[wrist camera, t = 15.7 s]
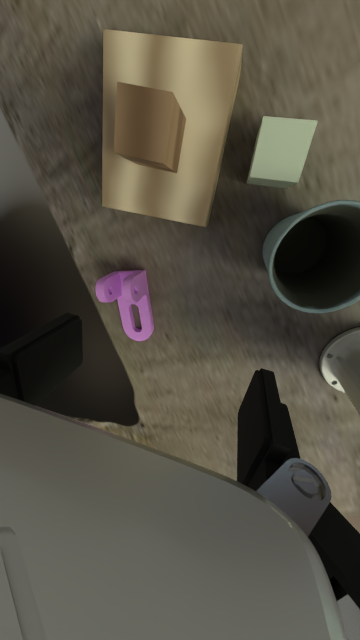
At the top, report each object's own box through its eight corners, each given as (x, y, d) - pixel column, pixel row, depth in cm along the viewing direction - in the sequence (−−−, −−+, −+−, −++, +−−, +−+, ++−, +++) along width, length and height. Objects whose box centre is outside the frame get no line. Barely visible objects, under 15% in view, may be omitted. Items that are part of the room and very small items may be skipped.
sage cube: (300, 139, 26) (317, 120, 21) (285, 188, 28) (298, 182, 23) (257, 135, 27) (263, 116, 21) (246, 183, 29) (249, 176, 24)
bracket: (115, 271, 38) (92, 281, 32) (145, 269, 37) (128, 280, 31) (128, 337, 44) (112, 357, 37) (155, 337, 42) (143, 358, 36)
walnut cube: (186, 118, 24) (172, 92, 19) (177, 173, 26) (162, 163, 21) (142, 110, 24) (117, 81, 19) (137, 164, 27) (113, 152, 21)
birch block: (240, 74, 25) (242, 44, 21) (208, 225, 32) (204, 226, 28) (124, 59, 27) (103, 29, 22) (118, 207, 34) (102, 206, 30)
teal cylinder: (258, 285, 34) (270, 318, 24) (254, 214, 30) (266, 215, 20) (334, 276, 31) (386, 307, 21) (339, 196, 28) (407, 185, 17)
